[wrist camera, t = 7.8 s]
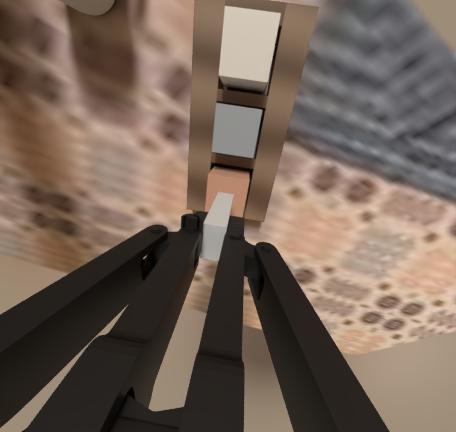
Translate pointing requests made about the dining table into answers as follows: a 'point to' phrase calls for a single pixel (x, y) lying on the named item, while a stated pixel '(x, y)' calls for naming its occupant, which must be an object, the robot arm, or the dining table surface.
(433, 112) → the dining table surface
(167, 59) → the dining table surface
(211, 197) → the terracotta key
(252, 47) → the cream key
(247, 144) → the slate key
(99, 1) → the cup
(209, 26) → the key block
